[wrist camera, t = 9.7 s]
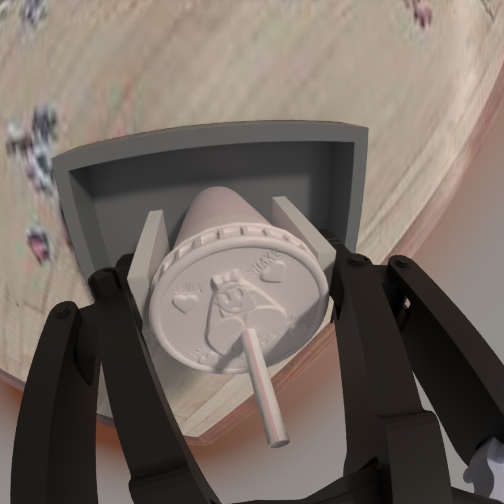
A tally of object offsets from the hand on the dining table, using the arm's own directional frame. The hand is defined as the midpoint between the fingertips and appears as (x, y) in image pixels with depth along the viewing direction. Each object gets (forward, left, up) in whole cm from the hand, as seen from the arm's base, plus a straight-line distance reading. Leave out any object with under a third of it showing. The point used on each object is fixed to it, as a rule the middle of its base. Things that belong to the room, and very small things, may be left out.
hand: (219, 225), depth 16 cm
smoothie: (0, 0, -2) cm, 2 cm away
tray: (0, 0, -5) cm, 5 cm away
